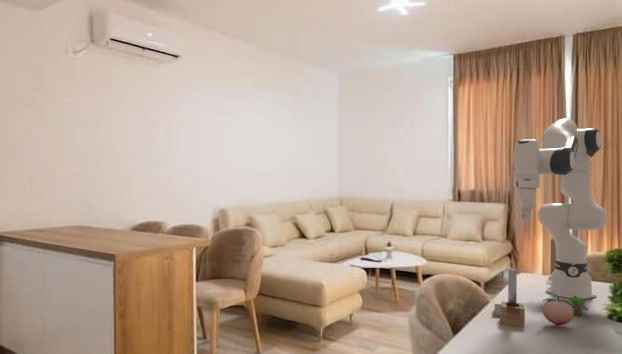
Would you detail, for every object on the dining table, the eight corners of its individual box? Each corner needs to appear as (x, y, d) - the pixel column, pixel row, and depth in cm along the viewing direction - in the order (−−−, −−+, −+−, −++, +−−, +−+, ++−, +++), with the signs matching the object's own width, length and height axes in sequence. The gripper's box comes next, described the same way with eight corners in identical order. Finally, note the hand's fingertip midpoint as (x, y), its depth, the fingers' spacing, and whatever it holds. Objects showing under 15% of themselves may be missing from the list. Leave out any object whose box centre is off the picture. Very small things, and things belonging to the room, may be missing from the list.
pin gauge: (507, 314, 151) (508, 268, 151) (516, 315, 150) (516, 269, 150) (508, 317, 148) (508, 270, 148) (516, 318, 147) (516, 270, 147)
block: (494, 309, 164) (494, 298, 164) (514, 311, 161) (515, 301, 161) (494, 314, 157) (494, 303, 157) (516, 317, 154) (516, 306, 155)
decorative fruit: (546, 329, 143) (546, 298, 143) (540, 321, 150) (540, 292, 150) (578, 332, 140) (578, 301, 140) (570, 324, 148) (570, 294, 148)
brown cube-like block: (501, 318, 154) (501, 301, 154) (523, 320, 151) (523, 303, 151) (501, 324, 147) (501, 306, 147) (524, 326, 144) (524, 308, 144)
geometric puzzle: (592, 314, 152) (587, 292, 157) (570, 312, 154) (566, 290, 159) (586, 321, 158) (581, 300, 163) (565, 319, 160) (561, 298, 164)
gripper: (515, 182, 171) (515, 217, 171) (518, 182, 152) (518, 222, 152) (533, 182, 169) (532, 218, 169) (538, 183, 150) (538, 223, 150)
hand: (526, 220), depth 160 cm, fingers open, 8 cm apart
